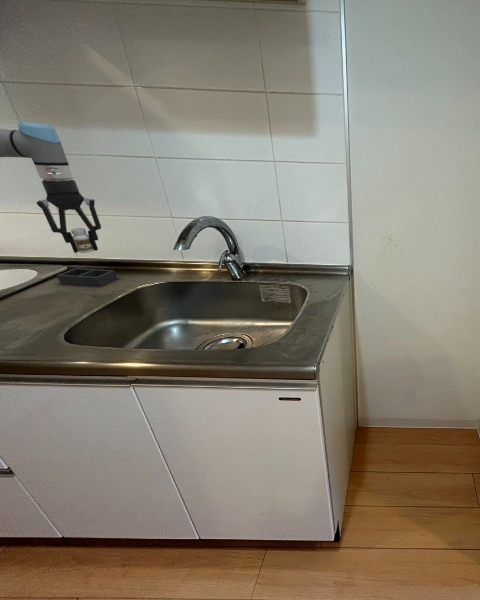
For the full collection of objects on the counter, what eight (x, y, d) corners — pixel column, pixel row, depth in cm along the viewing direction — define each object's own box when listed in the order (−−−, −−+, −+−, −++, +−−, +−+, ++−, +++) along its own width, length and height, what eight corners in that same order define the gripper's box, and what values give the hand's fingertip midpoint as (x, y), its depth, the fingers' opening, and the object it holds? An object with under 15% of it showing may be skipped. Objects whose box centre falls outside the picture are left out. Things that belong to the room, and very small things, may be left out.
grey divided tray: (100, 286, 109) (96, 277, 108) (60, 284, 109) (56, 275, 107) (117, 279, 116) (113, 270, 114) (79, 276, 115) (75, 268, 114)
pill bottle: (80, 253, 105) (71, 231, 101) (76, 251, 107) (66, 229, 103) (97, 251, 108) (88, 229, 105) (92, 248, 110) (84, 227, 107)
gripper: (13, 180, 89) (48, 257, 99) (95, 180, 100) (119, 250, 110) (18, 178, 94) (51, 251, 105) (95, 178, 105) (118, 244, 115)
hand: (86, 250), depth 107 cm, fingers closed on pill bottle, 4 cm apart
